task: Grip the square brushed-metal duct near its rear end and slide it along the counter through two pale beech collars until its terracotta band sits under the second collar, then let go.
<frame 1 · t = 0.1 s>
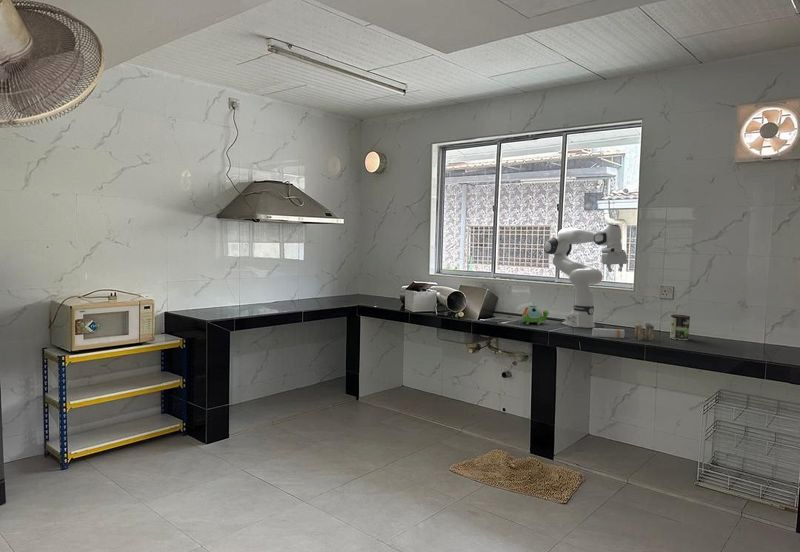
hand: (615, 271, 351), 39 cm above the counter, tool pointing down, fingers open, 8 cm apart
coffee can: (679, 339, 336), on the counter
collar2: (648, 338, 333), on the counter
tube: (607, 336, 338), on the counter
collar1: (638, 338, 335), on the counter
turtle holder: (534, 323, 383), on the counter
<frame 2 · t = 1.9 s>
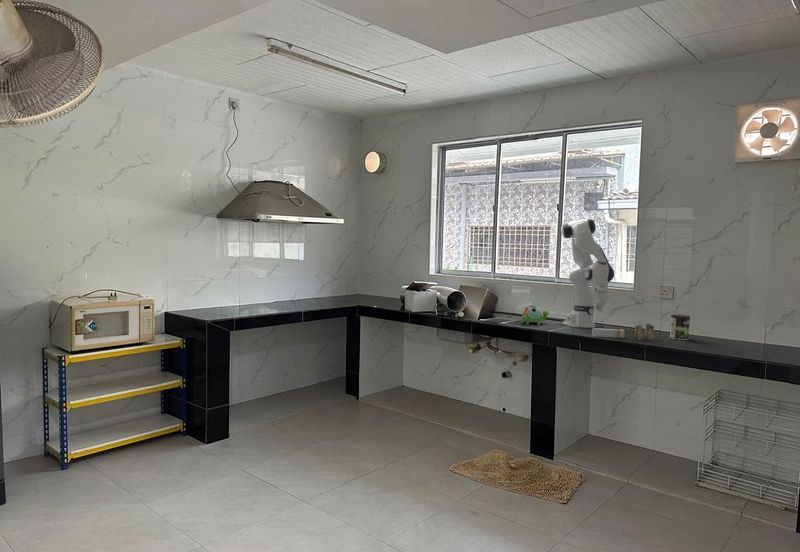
hand: (599, 310, 338), 16 cm above the counter, tool pointing down, fingers open, 8 cm apart
nothing on the counter moved.
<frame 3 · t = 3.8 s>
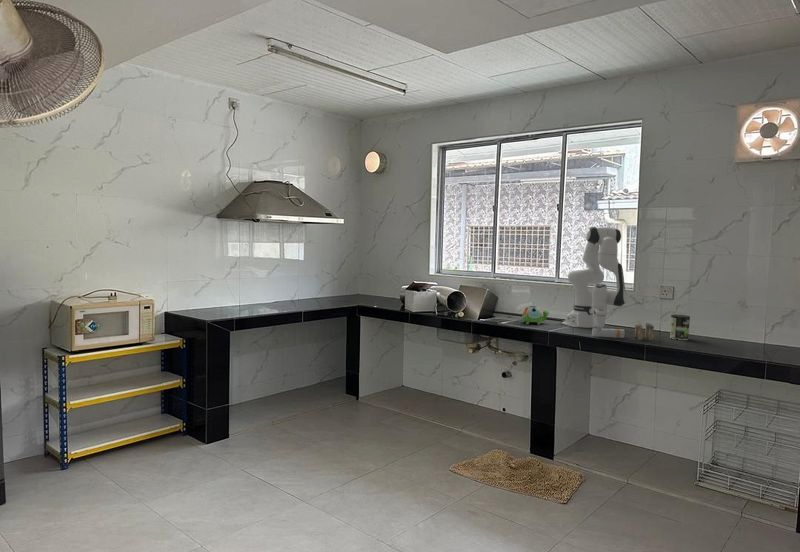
hand: (597, 333, 339), 2 cm above the counter, tool pointing down, fingers closed on tube, 4 cm apart
tube: (607, 336, 338), on the counter, touching gripper
everything else where it was.
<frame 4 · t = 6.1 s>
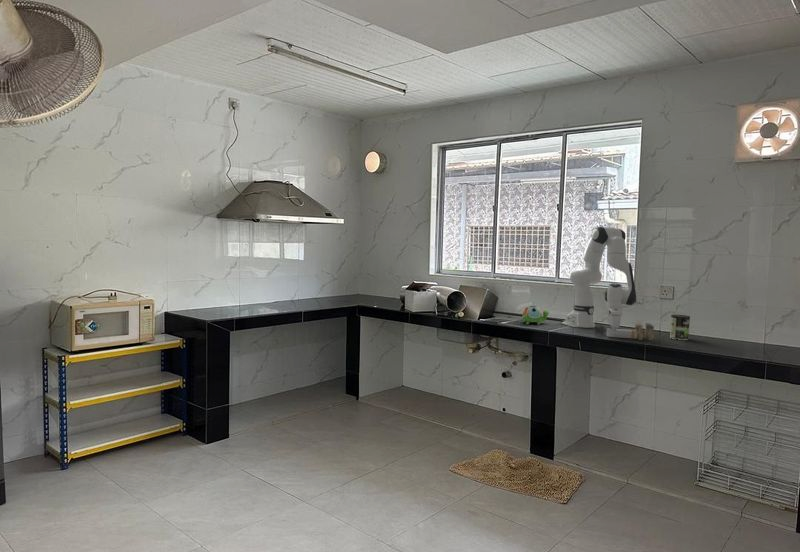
hand: (612, 333, 337), 2 cm above the counter, tool pointing down, fingers closed on tube, 4 cm apart
tube: (622, 337, 336), on the counter, touching gripper
everything else where it was.
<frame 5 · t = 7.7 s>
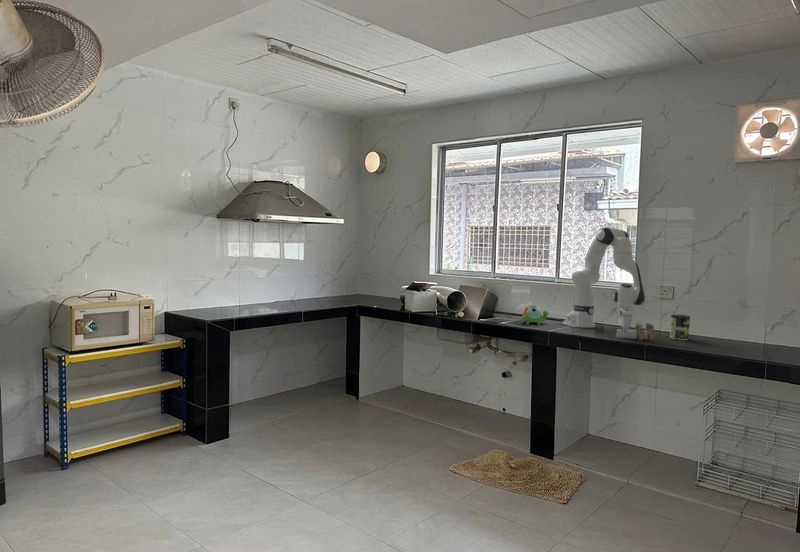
hand: (623, 333, 336), 2 cm above the counter, tool pointing down, fingers closed on tube, 4 cm apart
tube: (632, 337, 335), on the counter, touching gripper
everything else where it was.
when the fingers open (2 cm above the counter, at t = 8.8 s): tube stays where it is, on the counter.
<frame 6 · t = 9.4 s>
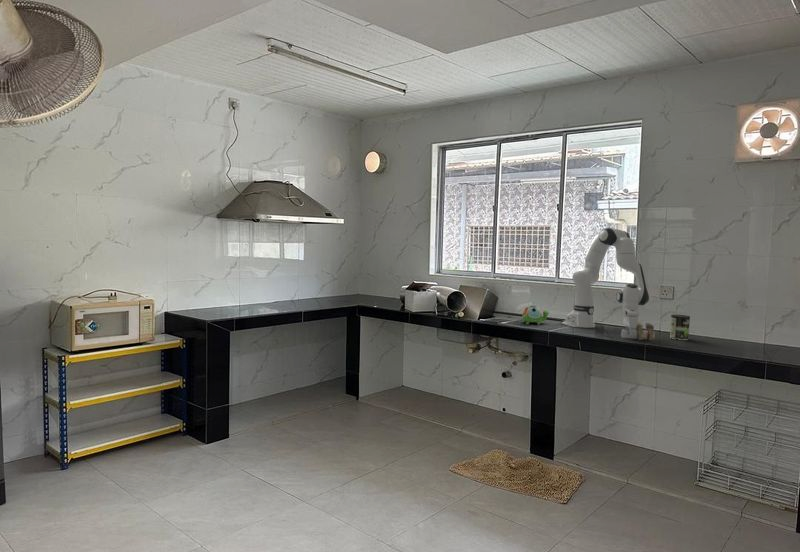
hand: (629, 333, 335), 2 cm above the counter, tool pointing down, fingers open, 8 cm apart
tube: (637, 338, 335), on the counter
everything else where it was.
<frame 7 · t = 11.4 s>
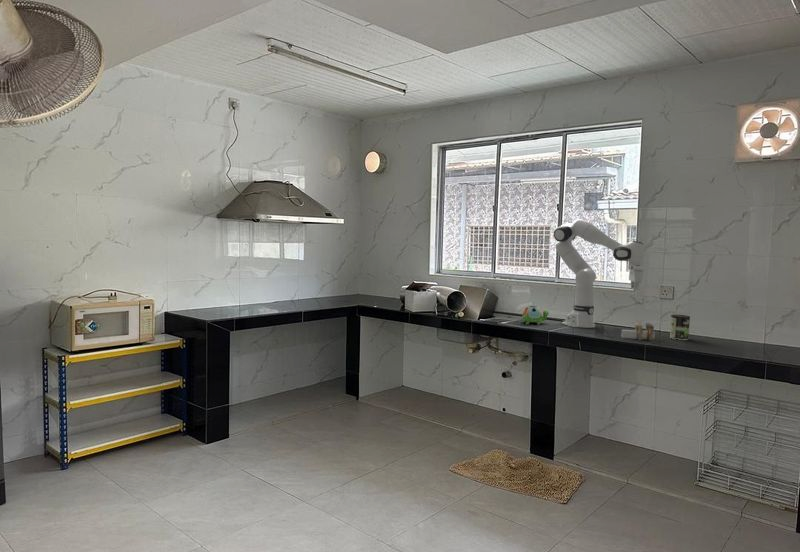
hand: (634, 289, 348), 28 cm above the counter, tool pointing down, fingers open, 8 cm apart
nothing on the counter moved.
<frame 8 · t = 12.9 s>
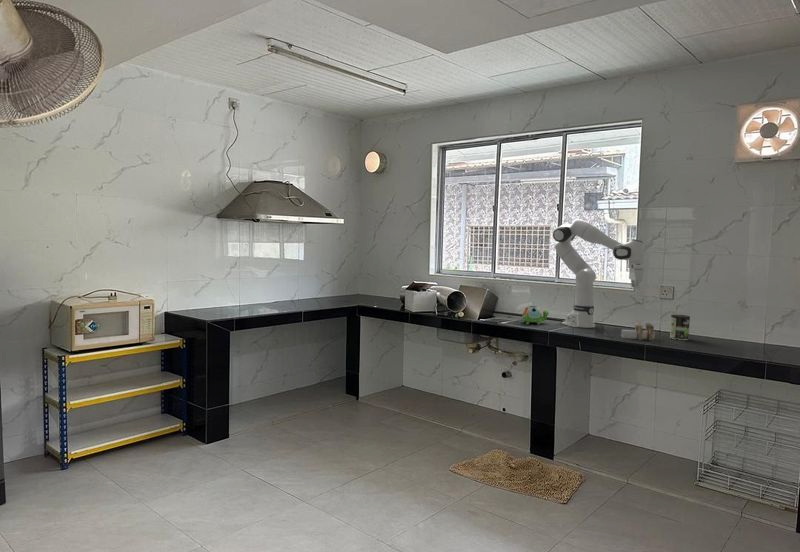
hand: (634, 287, 348), 29 cm above the counter, tool pointing down, fingers open, 8 cm apart
nothing on the counter moved.
at the end: tube 1.2 cm from the target spot, on the counter; the gripper is holding nothing; tube moved 17.0 cm from its start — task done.
